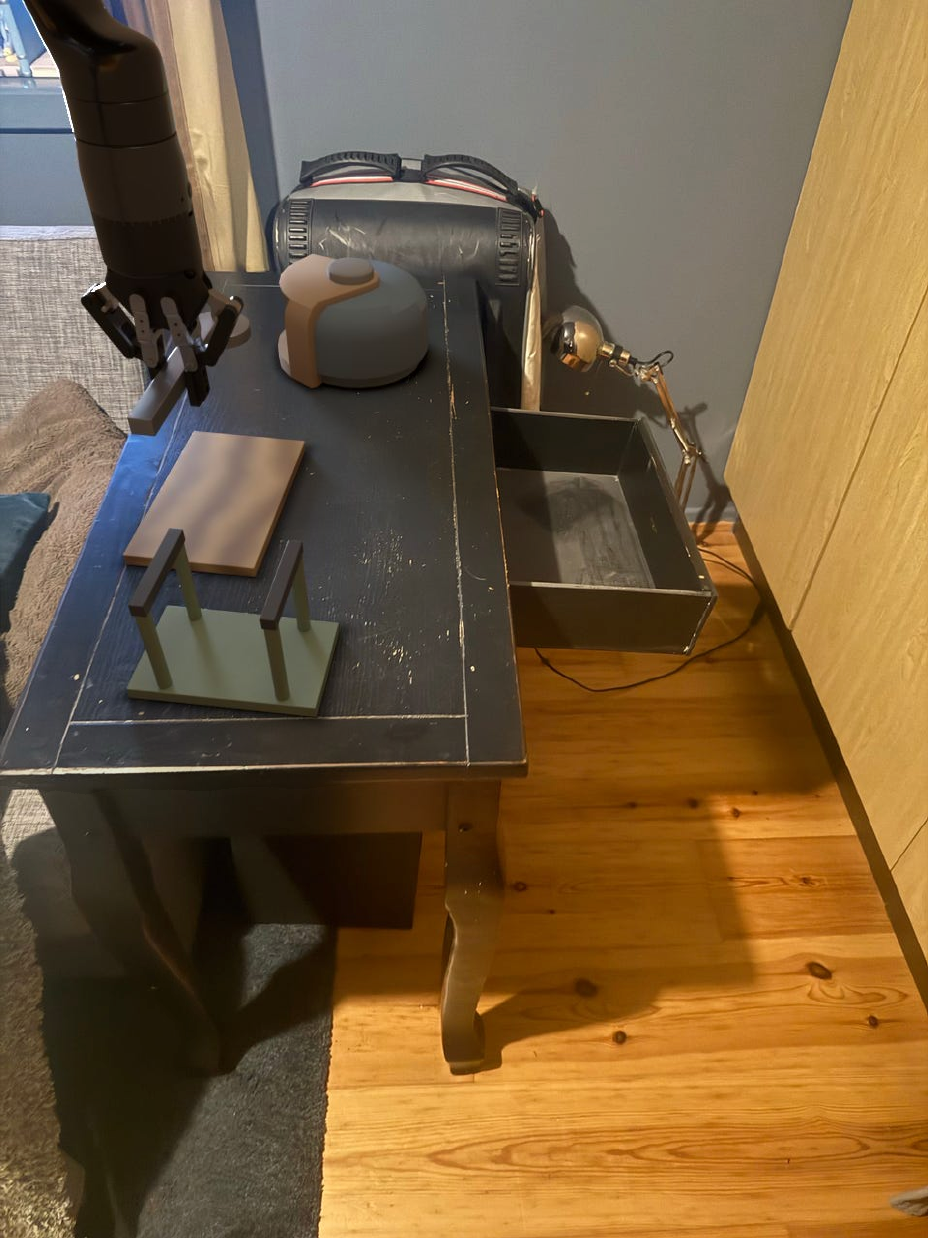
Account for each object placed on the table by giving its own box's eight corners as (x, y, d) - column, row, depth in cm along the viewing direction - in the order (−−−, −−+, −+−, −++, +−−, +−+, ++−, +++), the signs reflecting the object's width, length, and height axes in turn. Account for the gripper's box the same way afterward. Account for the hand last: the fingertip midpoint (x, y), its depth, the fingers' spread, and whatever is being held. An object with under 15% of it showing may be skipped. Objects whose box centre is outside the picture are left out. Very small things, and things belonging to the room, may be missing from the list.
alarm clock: (278, 324, 116) (268, 236, 108) (418, 320, 119) (419, 234, 111) (280, 395, 103) (268, 302, 95) (437, 388, 106) (440, 297, 98)
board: (124, 564, 80) (121, 555, 80) (196, 439, 96) (194, 430, 95) (255, 577, 80) (254, 568, 79) (305, 449, 95) (305, 441, 95)
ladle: (183, 454, 68) (175, 422, 66) (111, 447, 68) (101, 414, 66) (258, 324, 84) (254, 294, 82) (200, 318, 84) (195, 289, 82)
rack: (129, 697, 69) (93, 605, 61) (169, 614, 76) (142, 521, 68) (316, 717, 69) (305, 627, 61) (339, 631, 76) (332, 540, 68)
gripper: (28, 208, 60) (93, 416, 72) (215, 225, 59) (248, 430, 72) (71, 174, 65) (125, 373, 77) (243, 189, 65) (270, 386, 77)
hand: (184, 400), depth 74 cm, fingers closed on ladle, 2 cm apart
